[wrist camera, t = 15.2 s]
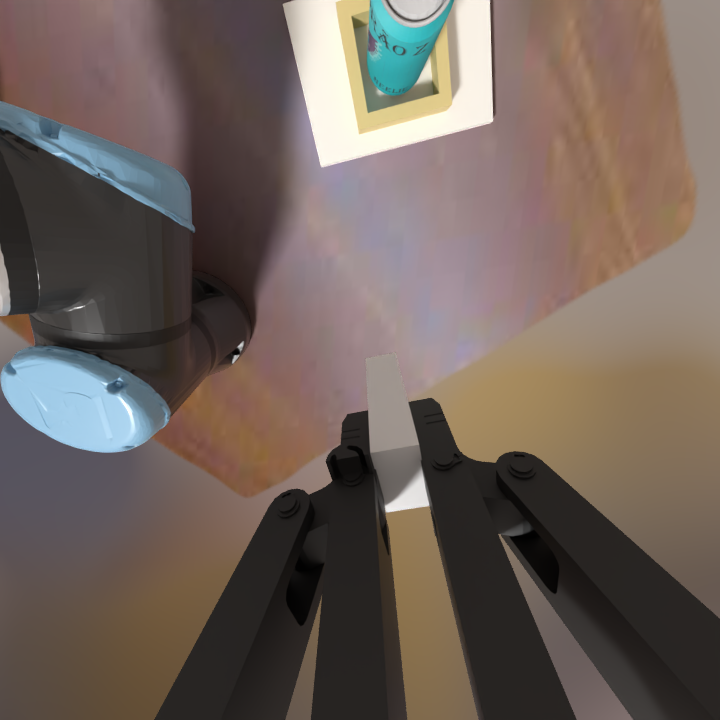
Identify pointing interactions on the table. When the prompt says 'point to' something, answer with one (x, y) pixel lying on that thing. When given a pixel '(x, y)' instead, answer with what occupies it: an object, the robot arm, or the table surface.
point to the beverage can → (402, 40)
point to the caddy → (365, 101)
